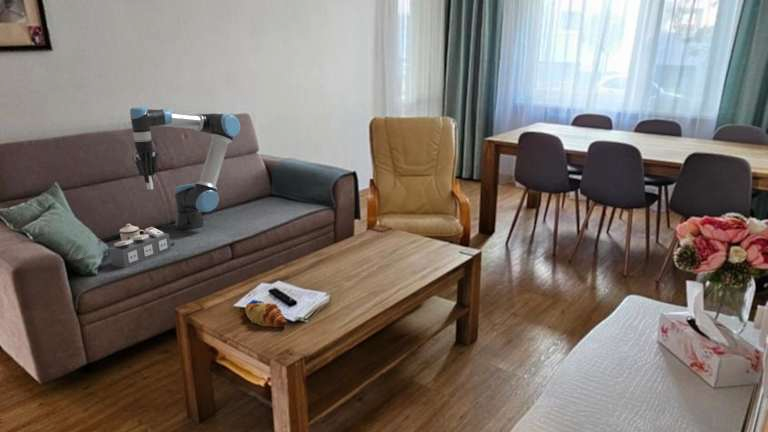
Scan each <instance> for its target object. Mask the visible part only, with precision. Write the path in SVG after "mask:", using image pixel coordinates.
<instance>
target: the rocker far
mask: <svg viewBox="0 0 768 432" xmlns="http://www.w3.org/2000/svg"><path fill="white" fill-rule="evenodd" d="M130 243H133V239H131V240H125V241H121V240H120V241H117V242H115V243H113V245H114V246H113V247H116V246H122V245H127V244H130Z"/></svg>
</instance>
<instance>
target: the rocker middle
mask: <svg viewBox="0 0 768 432" xmlns="http://www.w3.org/2000/svg"><path fill="white" fill-rule="evenodd" d="M148 234H149V233H145V235H143V234H140V235H135V236H132V237H130V240H131V239H133V240H143V239H146V238H148V237H149V235H148Z"/></svg>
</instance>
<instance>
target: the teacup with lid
mask: <svg viewBox="0 0 768 432" xmlns="http://www.w3.org/2000/svg"><path fill="white" fill-rule="evenodd" d="M118 232H119V235H120V241H125V240H130V237H132V236H135V235H141V234H140V232H143V233H142V235H145V234H146V232H145V229H140V228H139V226H137V225H136V226H134V225H132V224H131V223H126V225H125V226H124V227H122V228H120V229H119V230H118Z"/></svg>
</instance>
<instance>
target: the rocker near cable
mask: <svg viewBox="0 0 768 432" xmlns="http://www.w3.org/2000/svg"><path fill="white" fill-rule="evenodd" d="M144 231H145V233H146V234H151V235H153V236H155V237H160V236H162V235H164V232H163V231H162V230H159V229H157V228H155V227H153V226H150V227H147V228H145V229H144Z"/></svg>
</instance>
